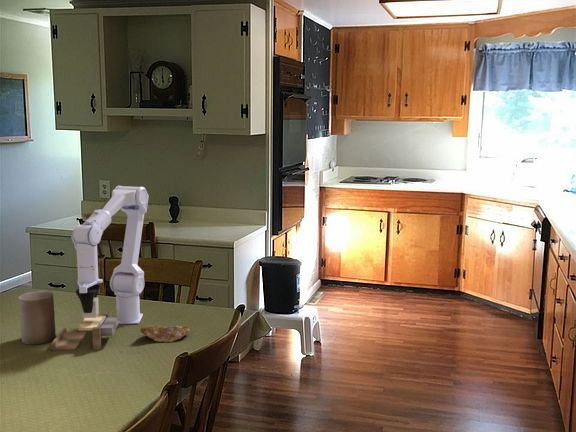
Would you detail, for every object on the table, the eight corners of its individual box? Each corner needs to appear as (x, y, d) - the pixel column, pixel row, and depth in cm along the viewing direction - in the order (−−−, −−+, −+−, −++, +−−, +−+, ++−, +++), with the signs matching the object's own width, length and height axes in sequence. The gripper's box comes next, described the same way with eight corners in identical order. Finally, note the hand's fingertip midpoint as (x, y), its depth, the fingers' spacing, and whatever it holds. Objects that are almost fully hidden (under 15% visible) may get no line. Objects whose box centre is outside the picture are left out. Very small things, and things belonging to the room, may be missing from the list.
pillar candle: (63, 336, 192) (60, 288, 190) (38, 346, 183) (35, 296, 181) (39, 332, 196) (36, 285, 194) (13, 342, 187) (10, 292, 185)
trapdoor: (86, 324, 193) (86, 315, 193) (118, 324, 194) (118, 315, 194) (78, 337, 182) (77, 327, 182) (112, 336, 183) (111, 327, 183)
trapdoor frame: (63, 333, 195) (63, 313, 194) (109, 332, 196) (109, 312, 195) (50, 350, 180) (49, 329, 179) (100, 349, 182) (99, 328, 181)
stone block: (85, 313, 189) (84, 297, 188) (98, 313, 190) (98, 297, 189) (82, 317, 185) (81, 301, 184) (96, 317, 186) (95, 301, 185)
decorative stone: (139, 319, 194) (187, 320, 198) (137, 333, 194) (186, 334, 199) (141, 328, 185) (192, 330, 189) (140, 343, 185) (191, 344, 190)
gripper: (96, 271, 178) (98, 317, 180) (106, 259, 192) (107, 302, 195) (70, 271, 178) (73, 318, 180) (82, 260, 192) (84, 303, 194)
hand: (89, 310), depth 187 cm, fingers closed on stone block, 4 cm apart
